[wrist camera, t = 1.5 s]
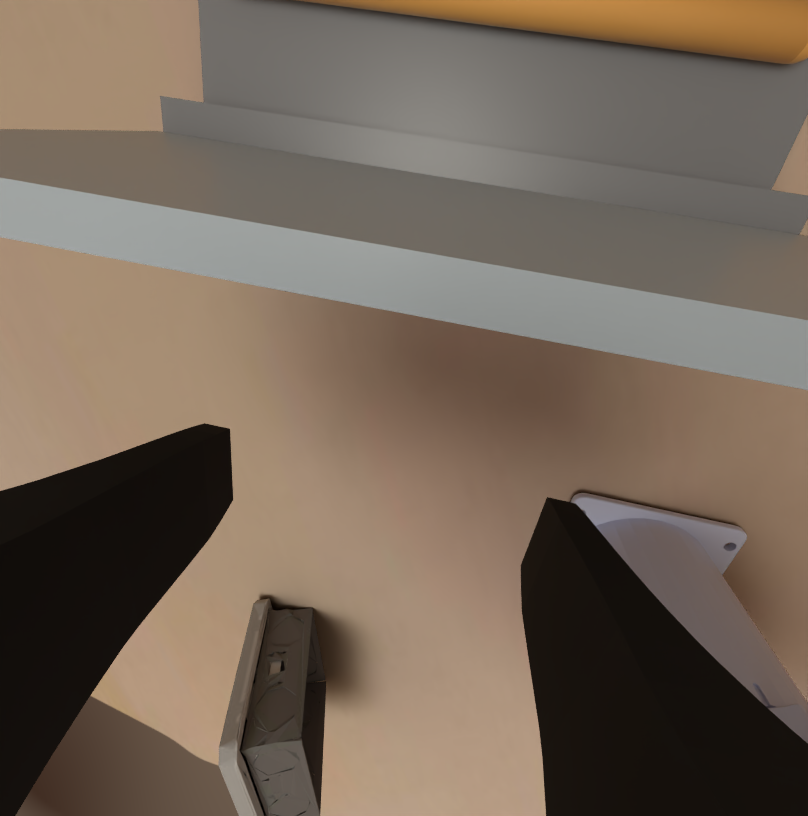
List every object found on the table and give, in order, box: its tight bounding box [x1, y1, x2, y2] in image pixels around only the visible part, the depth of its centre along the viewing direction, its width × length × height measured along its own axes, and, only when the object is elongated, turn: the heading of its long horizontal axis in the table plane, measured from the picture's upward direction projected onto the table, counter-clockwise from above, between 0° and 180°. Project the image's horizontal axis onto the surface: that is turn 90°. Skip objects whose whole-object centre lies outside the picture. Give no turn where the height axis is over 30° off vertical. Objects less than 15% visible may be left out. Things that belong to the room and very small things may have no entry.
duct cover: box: [0, 129, 808, 390], centre depth 9 cm, size 9×20×1 cm
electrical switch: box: [219, 599, 326, 816], centre depth 25 cm, size 9×5×9 cm, turn 2°
